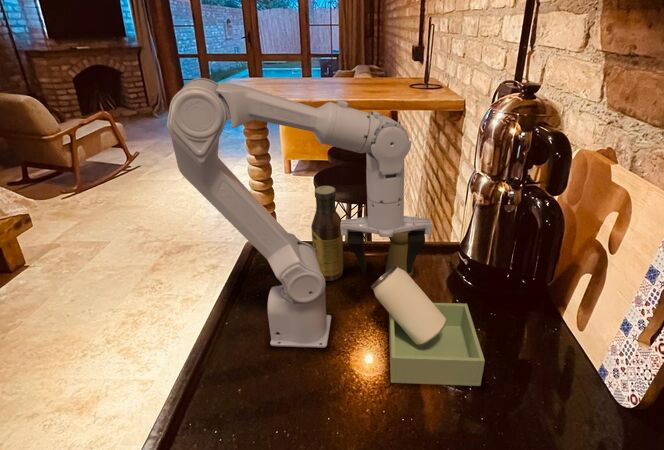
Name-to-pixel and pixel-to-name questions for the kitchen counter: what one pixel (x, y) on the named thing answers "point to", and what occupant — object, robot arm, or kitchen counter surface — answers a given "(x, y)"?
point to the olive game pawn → (398, 252)
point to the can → (409, 305)
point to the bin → (438, 352)
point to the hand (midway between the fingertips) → (386, 269)
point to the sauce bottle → (327, 234)
